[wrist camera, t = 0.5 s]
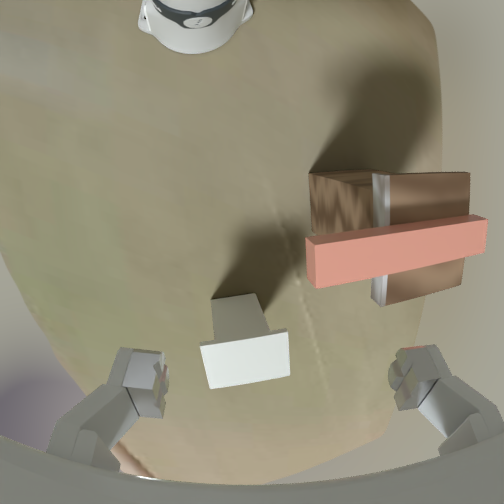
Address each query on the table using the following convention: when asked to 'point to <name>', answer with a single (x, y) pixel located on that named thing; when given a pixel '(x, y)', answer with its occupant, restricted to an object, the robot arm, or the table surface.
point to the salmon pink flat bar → (392, 249)
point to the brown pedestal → (392, 218)
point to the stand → (243, 344)
